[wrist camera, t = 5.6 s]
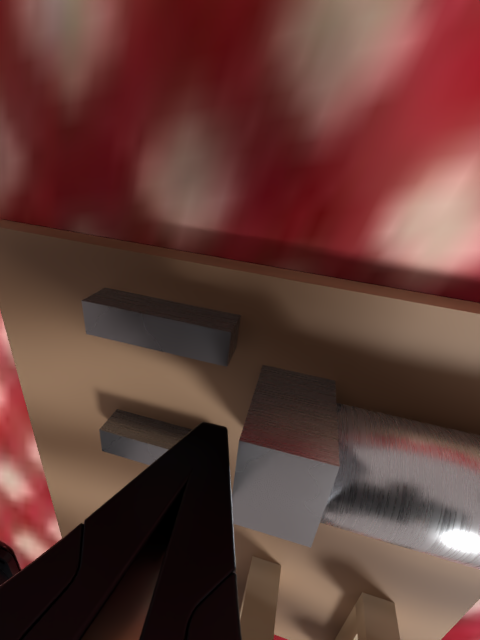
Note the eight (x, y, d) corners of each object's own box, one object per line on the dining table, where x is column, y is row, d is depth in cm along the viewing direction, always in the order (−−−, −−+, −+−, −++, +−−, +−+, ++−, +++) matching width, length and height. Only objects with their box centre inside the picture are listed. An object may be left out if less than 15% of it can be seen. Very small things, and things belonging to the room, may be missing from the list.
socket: (223, 459, 11) (214, 484, 10) (119, 429, 12) (102, 450, 11) (240, 315, 8) (230, 332, 7) (104, 287, 9) (81, 300, 8)
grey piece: (251, 436, 10) (228, 522, 8) (262, 364, 9) (239, 440, 6) (531, 508, 9) (611, 640, 6) (591, 436, 8) (721, 567, 5)
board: (397, 657, 15) (401, 681, 14) (77, 543, 18) (67, 558, 17) (671, 336, 7) (709, 355, 6) (1, 219, 10) (-23, 223, 9)
